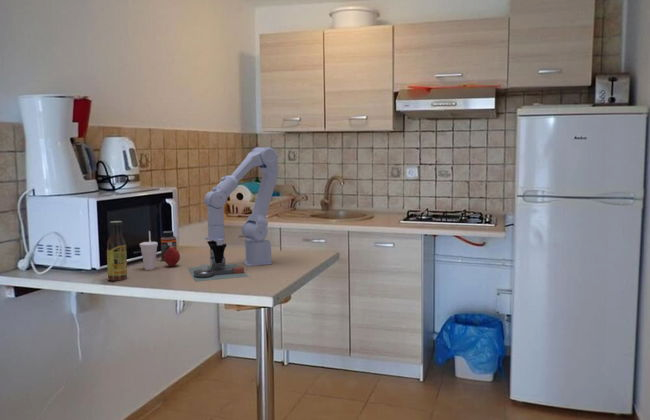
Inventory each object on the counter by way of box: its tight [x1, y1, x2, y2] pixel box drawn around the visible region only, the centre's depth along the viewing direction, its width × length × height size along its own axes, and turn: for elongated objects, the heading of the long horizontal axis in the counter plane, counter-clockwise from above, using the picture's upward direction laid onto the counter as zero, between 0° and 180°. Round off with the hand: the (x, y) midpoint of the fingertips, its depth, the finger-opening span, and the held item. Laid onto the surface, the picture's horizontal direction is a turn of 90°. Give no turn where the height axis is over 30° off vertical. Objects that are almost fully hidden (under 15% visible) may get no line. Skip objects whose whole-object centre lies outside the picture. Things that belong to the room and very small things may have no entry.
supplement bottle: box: [160, 230, 178, 262], centre depth 223 cm, size 6×6×11 cm
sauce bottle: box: [106, 220, 128, 282], centre depth 192 cm, size 7×6×20 cm
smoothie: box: [139, 230, 159, 271], centre depth 207 cm, size 6×6×14 cm
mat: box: [187, 263, 249, 282], centre depth 201 cm, size 18×22×1 cm
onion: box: [163, 246, 181, 267], centre depth 211 cm, size 6×6×8 cm
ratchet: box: [194, 263, 245, 278], centre depth 197 cm, size 17×7×4 cm, turn 110°
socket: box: [209, 249, 226, 268], centre depth 206 cm, size 5×5×6 cm
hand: (217, 261), depth 206 cm, fingers closed on socket, 5 cm apart
